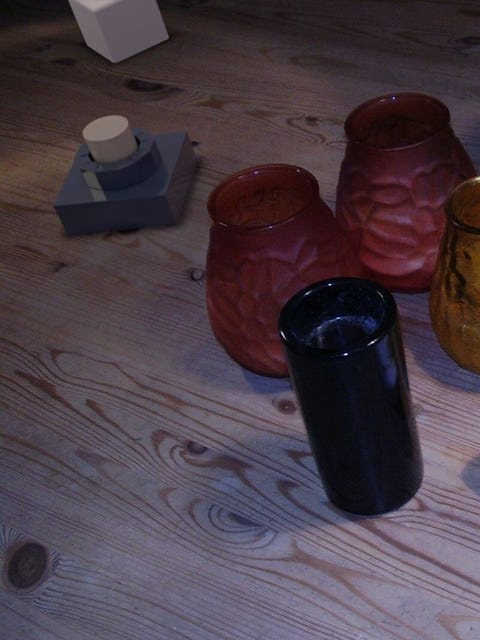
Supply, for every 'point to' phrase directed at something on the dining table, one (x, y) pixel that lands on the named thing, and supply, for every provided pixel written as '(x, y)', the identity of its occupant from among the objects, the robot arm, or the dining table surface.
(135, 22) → the medicine bottle
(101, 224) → the button housing
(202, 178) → the dining table surface
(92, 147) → the beige cylinder
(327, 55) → the dining table surface
